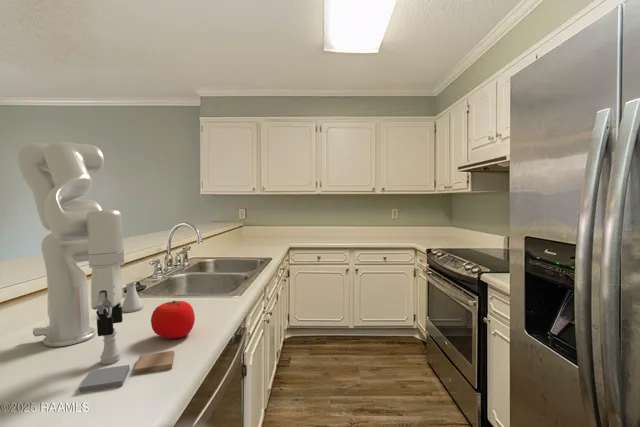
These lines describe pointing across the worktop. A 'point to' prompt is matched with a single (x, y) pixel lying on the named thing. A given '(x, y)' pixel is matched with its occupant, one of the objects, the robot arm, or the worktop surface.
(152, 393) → the worktop surface
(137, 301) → the flask
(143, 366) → the walnut coaster
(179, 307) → the tomato
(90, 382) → the charcoal coaster
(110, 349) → the rook chess piece
